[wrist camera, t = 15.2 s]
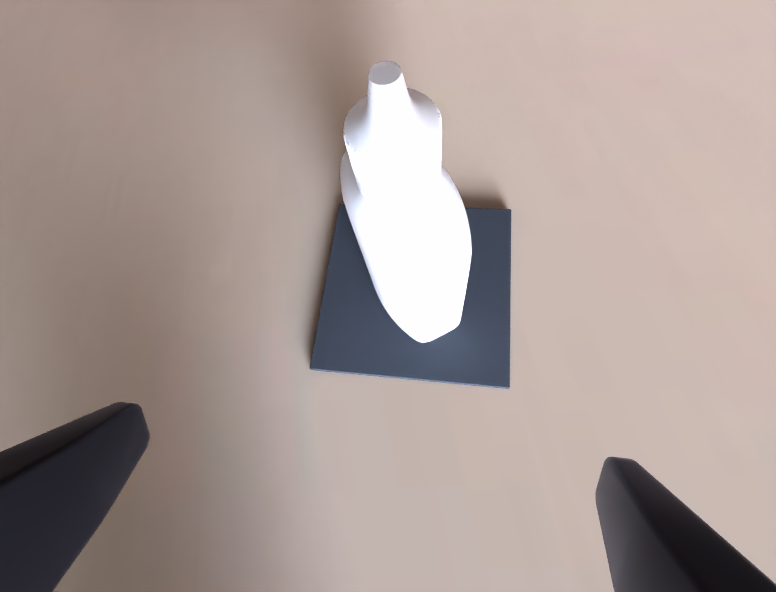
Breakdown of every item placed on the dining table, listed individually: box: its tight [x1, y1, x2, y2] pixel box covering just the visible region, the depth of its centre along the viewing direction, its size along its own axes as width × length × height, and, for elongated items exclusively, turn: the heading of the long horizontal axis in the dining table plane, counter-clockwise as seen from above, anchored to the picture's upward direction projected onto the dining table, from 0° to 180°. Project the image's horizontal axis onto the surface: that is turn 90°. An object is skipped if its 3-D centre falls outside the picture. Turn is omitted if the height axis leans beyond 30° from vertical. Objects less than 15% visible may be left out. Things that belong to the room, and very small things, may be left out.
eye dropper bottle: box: [340, 61, 472, 343], centre depth 14 cm, size 4×6×12 cm
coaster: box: [310, 204, 511, 389], centre depth 20 cm, size 9×9×1 cm
